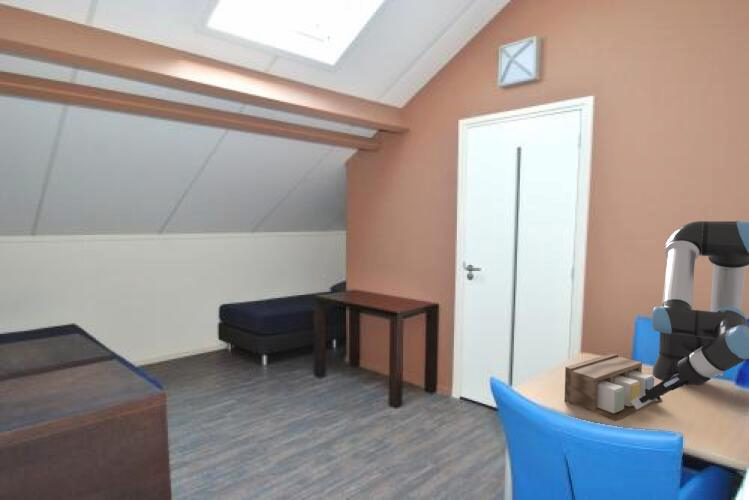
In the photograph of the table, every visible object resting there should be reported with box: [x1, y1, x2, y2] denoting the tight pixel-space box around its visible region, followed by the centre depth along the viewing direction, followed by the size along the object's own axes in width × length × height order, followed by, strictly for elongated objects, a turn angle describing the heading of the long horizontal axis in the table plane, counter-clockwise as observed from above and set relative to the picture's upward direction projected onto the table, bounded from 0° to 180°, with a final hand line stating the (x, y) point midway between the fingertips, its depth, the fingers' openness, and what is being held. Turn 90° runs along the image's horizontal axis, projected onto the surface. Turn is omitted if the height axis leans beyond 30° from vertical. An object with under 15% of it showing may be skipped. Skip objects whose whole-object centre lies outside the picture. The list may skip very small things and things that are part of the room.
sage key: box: [597, 380, 625, 413], centre depth 145 cm, size 8×5×8 cm, turn 32°
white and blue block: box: [628, 370, 655, 395], centre depth 155 cm, size 8×5×8 cm, turn 32°
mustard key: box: [613, 375, 640, 407], centre depth 150 cm, size 8×5×8 cm, turn 32°
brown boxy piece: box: [564, 352, 663, 422], centre depth 153 cm, size 18×28×12 cm, turn 122°
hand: (634, 404), depth 138 cm, fingers closed
